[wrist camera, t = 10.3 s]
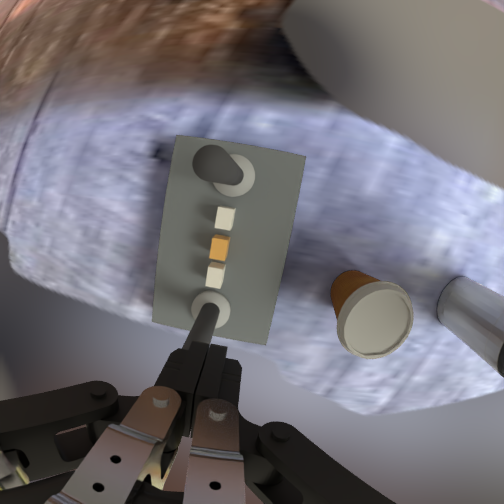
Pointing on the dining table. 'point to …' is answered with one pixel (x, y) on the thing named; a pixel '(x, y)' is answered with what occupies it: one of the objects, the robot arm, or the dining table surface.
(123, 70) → the dining table surface
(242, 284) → the panel
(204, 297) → the cable post
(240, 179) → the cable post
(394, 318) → the disposable coffee cup
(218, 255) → the orange small block
